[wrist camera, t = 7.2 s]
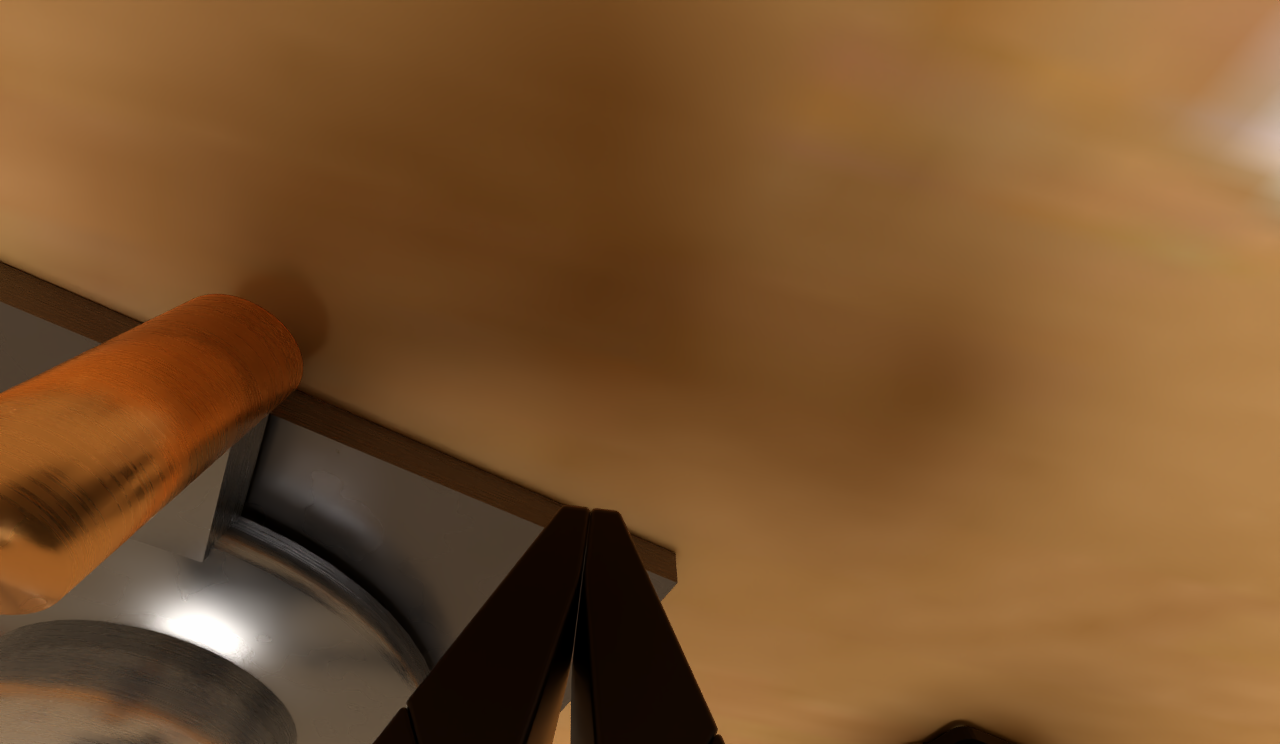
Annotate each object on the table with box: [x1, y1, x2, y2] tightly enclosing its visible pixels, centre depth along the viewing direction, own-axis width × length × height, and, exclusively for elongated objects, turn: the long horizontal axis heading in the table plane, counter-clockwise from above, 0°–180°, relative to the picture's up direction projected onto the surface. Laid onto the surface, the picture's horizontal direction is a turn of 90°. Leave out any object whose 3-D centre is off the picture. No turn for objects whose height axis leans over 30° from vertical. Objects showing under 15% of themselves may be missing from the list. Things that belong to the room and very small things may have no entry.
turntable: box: [0, 294, 430, 744], centre depth 12 cm, size 16×22×5 cm
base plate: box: [0, 263, 677, 712], centre depth 17 cm, size 22×22×1 cm
